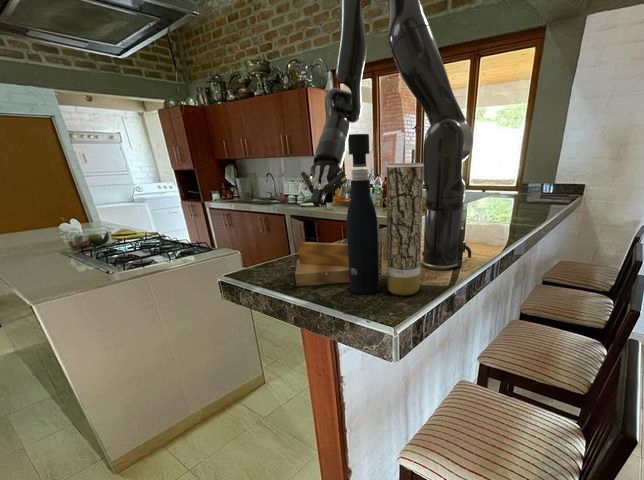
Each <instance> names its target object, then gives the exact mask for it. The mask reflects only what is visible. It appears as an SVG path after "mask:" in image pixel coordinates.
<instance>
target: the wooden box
mask: <svg viewBox="0 0 644 480" xmlns="http://www.w3.org/2000/svg"><path fill="white" fill-rule="evenodd" d="M288 267H289V268H295V272H294V276H295V284H296V287H308V286H319V285H320V286H321V285H333V284H346V283H350V277H349V266H334V265H318V264H301V263H300V261H299V259H297V260H296V264H295V265H289V266H288Z"/></svg>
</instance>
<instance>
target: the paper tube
mask: <svg viewBox="0 0 644 480" xmlns="http://www.w3.org/2000/svg"><path fill="white" fill-rule="evenodd" d="M423 177H424V165H423V162H400V163H399V162H397V163H395V162H394V163H387V164H386V250H387V251H386V259H387V260H386V263H387V264H386V269H387V271H386V272H387V290H388V292H389V293H390V294H392V295H395V296H404V297H405V296H411V295H414V294H417V293H418V291H419V290H420V279H421V277H420V275H421V256H422V252H421V251H422V226H423V223H422V222H423V203H424V200H423V199H424V198H423V197H424V181H423Z"/></svg>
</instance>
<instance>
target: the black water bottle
mask: <svg viewBox="0 0 644 480" xmlns="http://www.w3.org/2000/svg"><path fill="white" fill-rule="evenodd" d="M347 145H348V146H347V147H348V155H351V156H352V167H353V168H358V169H351V180H350V198H349V203H348V207H347V213H346V222H345V225H346V244H348V261H349V277H350V282H349V290H350V292H352V293H353V294H355V295H356V294H357V295H371V294H374V293H377V292H378V291H379V290H380V266H379V265H380V264H379V263H380V261H379V257H380V256H379V221H378V215H377V211H376V207H375V205H374V202H373V199H372V195H371V180H370V179H369V178H370V176H369V170H368V168H367V169H366V167H367V155H370V154H371V153H370V134H369V133H353V134H352V133H351V134H350V133H349V135H348V141H347ZM359 168H361V169H359ZM362 168H363V169H362ZM364 168H365V169H364Z"/></svg>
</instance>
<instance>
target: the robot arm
mask: <svg viewBox="0 0 644 480" xmlns="http://www.w3.org/2000/svg"><path fill="white" fill-rule="evenodd" d="M386 1H387V4H388V5H387V6H388V10H389V19H388V35H387V38H388V46H389V50H390V53H391V56H392V58H393V61H394V63H395V66H396V68H397V70H398V73H399V74H400V76H401V79H402V80H403V82H404V84H405V85H406V87H407V89H408V90H409V91H410V93H411V94H412V96H413V97H414V98H415V100H417V102H418V103H419V105H420V107H421V108H422V110H423V111H424V113H425V116H426V117H427V121H428V123H429V127H428V129H427V131H426V132H425V136H424V139H423V149H422V164H423V165H424V177H423V186H424V188H425V200H424V201H425V202H424V203H425V204H424V227H423V251H422V252H421V256H422V266H424V267H426V268H427V269H432V270H440V271H441V270H442V271H443V270H452V269H455V268H458V267H462V265H463V255H464V254H463V253H466V251H467V258H468V259H471V258H472V250H471V248H470V247H469V246H468V245H467V241H465V234H466V233H465V232H466V230H465V228H464V227H463V220H464V219H463V218H464V206H465V196H466V183H465V181H464V179H463V172H462V171H463V162H464V161H465V160H466V159H467V158H468V157H469V156H470V154H471V153H472V151H473V147H474V135H473V134H474V133H473V130H472V128H471V126H470V124H469V123H468V121H467V119H466V117H465V115H464V113H463V111H462V109H461V107H460V105H459V103H458V101H457V99H456V96H455V94H454V92H453V89H452V86H451V83H450V80H449V77H448V73H447V69H446V67H445V65H444V62H443V58H442V56H441V54H440V51H439V48H438V45H437V42H436V39H435V36H434V34H433V31H432V28H431V26H430V23H429V21H428V19H427V16H426V14H425V11H424V9H423V6H422V3H421V0H386ZM362 2H363V1H362V0H341V2H340V3H341V6H340V7H341V8H340V9H341V10H340V11H341V13H340V14H341V15H340V33H339V35H340V36H339V45H338V51H337V59H336V67H335V78H336V80H338V82H340V83H341V84H343V85H344V86H345V87H347V88H348V89H349V91H347V90H344V89H342V88H338V87H332V88H329V90H328V91H327V92H326V93H325V98H324V108H325V121H324V126H323V129H322V132H321V134H320V137H319V138H318V139H319V140H318V143H317V146H316V150H315V152H314V157H313V164H312V165H311V167H310V168H309V170H308V171H307V172H305V171H301V173H300V175H301V177H302V179H303V181H304V183H305V185H306V186H307V188H308V190H309V191H310V193H311V194H312V195H311V198H310V199H311V203H312V204H313V206H314V207H317V208H318V207H319V208H321V207H322V205H324V203H325V198H326V196H327V195H328V194H331V195H332V194H334V193H335V192H336V191H337V190H338V189H339V188H341V187H342V186H343V185H344V184H345V183H347V181H348V180H349V179H348V175H347V173H346V172H345V170H342V169H343V168H342V167H343V164H344V160H345V156H346V152H347V147H348V146H347V145H348V135H350V132H351V124H353V123H356V122H358V121H359V120H360V118H361V117H362V112H363V99H362V98H363V97H362V82H363V81H362V80H363V73H364V69H365V64H366V59H367V51H368V39H367V34H366V33H367V32H366V29H365V28H366V27H365V23H364V22H365V21H364V17H363V9H362V5H363V4H362ZM312 178H313V182H314V183H312Z"/></svg>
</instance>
